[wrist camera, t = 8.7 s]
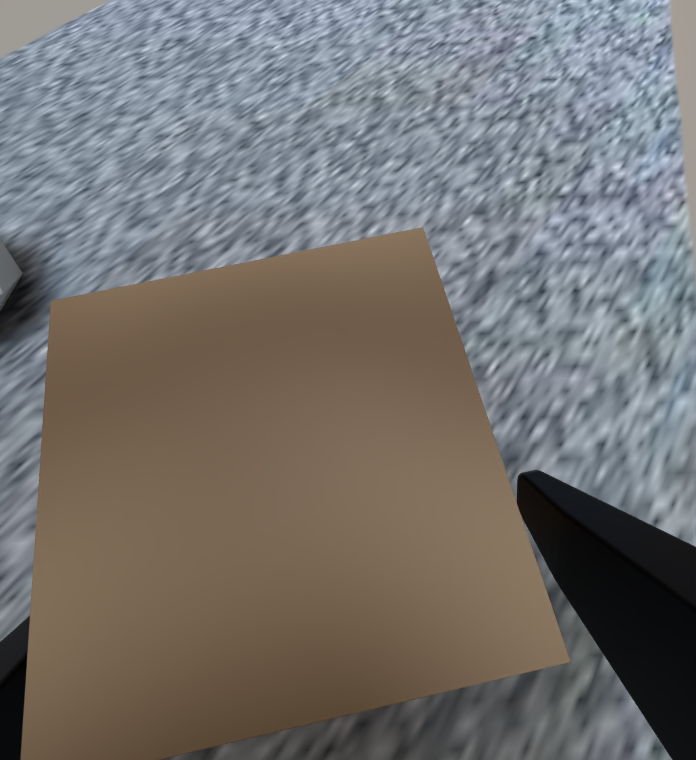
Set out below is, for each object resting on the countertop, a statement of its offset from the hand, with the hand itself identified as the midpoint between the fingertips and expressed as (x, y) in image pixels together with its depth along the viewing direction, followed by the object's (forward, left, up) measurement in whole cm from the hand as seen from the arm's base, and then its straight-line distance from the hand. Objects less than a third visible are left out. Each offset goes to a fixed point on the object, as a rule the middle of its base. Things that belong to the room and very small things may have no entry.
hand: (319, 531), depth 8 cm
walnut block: (+1, 0, -8) cm, 8 cm away
